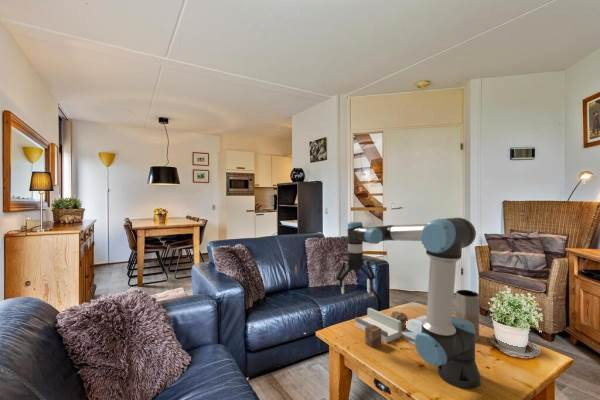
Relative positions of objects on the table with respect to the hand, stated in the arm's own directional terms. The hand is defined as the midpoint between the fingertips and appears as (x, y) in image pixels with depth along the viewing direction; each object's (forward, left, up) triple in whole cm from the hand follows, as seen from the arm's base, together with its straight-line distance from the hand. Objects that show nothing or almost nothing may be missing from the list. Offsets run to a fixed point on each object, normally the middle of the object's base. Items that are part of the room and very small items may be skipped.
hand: (355, 292), depth 147 cm
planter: (-31, -48, -24) cm, 62 cm away
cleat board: (-1, -15, -23) cm, 28 cm away
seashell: (-3, -29, -24) cm, 38 cm away
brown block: (-9, -3, -24) cm, 25 cm away
